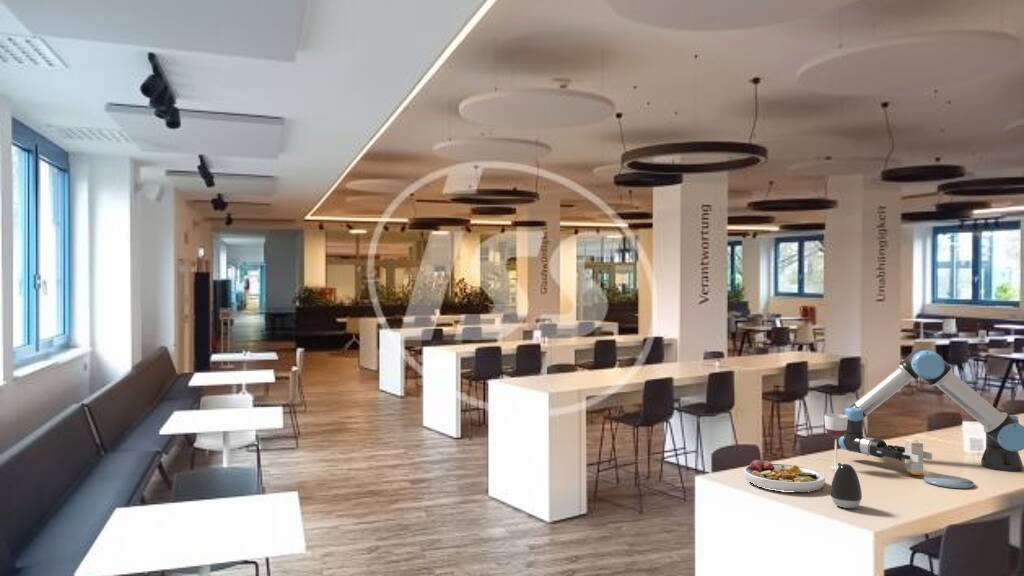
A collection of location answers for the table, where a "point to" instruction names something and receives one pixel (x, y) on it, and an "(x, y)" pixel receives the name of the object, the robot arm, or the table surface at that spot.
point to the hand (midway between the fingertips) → (925, 457)
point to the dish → (948, 481)
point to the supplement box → (915, 449)
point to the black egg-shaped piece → (846, 487)
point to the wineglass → (836, 428)
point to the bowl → (784, 476)
